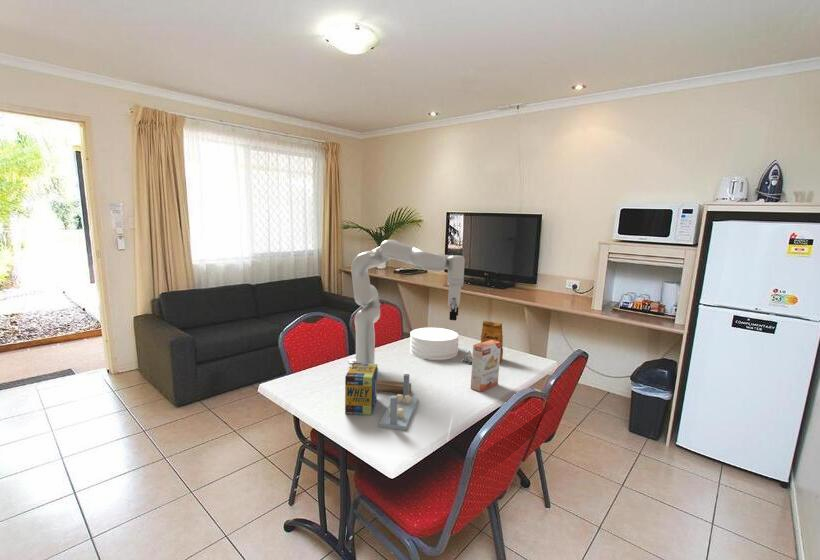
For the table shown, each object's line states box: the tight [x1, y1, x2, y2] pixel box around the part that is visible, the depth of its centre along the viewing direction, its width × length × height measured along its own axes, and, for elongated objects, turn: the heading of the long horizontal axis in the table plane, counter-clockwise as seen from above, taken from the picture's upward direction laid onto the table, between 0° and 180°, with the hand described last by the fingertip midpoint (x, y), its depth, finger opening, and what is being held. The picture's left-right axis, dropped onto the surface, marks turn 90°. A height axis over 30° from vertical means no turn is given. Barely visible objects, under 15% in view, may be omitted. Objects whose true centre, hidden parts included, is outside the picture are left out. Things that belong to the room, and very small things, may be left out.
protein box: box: [344, 363, 378, 416], centre depth 155 cm, size 10×15×16 cm
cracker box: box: [470, 340, 501, 393], centre depth 177 cm, size 14×6×21 cm, turn 133°
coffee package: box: [480, 320, 504, 362], centre depth 213 cm, size 10×12×22 cm
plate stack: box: [409, 327, 459, 361], centre depth 224 cm, size 28×28×12 cm
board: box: [377, 379, 412, 395], centre depth 170 cm, size 4×16×4 cm, turn 78°
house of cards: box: [460, 350, 473, 366], centre depth 208 cm, size 9×9×8 cm
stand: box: [378, 373, 419, 431], centre depth 150 cm, size 10×24×12 cm, turn 168°
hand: (453, 317), depth 182 cm, fingers open, 9 cm apart
